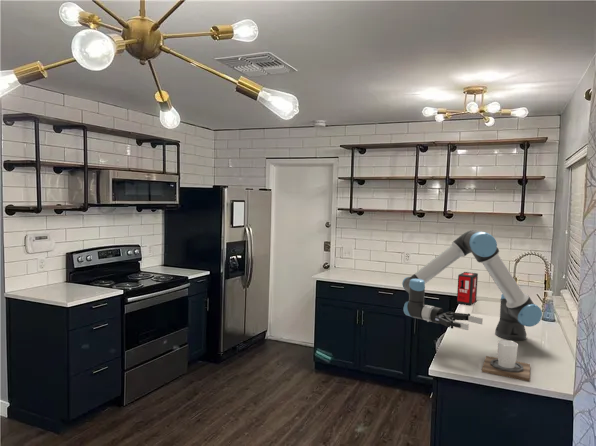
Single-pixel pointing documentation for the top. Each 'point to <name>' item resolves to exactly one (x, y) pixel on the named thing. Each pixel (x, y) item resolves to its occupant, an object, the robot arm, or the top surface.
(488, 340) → the top surface
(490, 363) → the coaster board
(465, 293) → the cleaning product box
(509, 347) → the white cup
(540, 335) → the top surface
